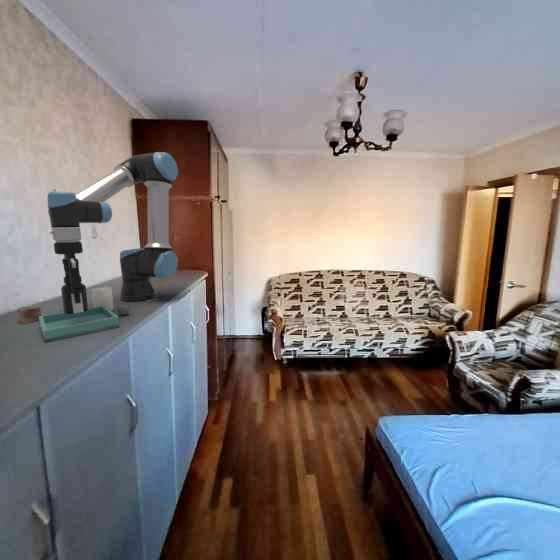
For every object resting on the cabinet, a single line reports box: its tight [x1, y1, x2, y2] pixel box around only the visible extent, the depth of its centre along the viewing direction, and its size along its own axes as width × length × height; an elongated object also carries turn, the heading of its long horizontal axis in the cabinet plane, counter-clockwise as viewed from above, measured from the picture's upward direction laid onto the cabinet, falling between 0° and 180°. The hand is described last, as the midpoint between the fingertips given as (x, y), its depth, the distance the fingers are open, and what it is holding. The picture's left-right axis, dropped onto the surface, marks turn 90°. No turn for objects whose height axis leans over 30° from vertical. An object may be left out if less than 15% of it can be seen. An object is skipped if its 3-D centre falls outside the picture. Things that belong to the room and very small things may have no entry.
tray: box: [38, 306, 120, 343], centre depth 103 cm, size 20×20×4 cm
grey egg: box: [117, 304, 130, 316], centre depth 115 cm, size 4×4×4 cm
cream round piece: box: [91, 286, 115, 312], centre depth 122 cm, size 7×7×9 cm
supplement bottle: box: [60, 275, 89, 314], centre depth 101 cm, size 7×7×12 cm
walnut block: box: [17, 305, 42, 325], centre depth 110 cm, size 5×5×5 cm
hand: (76, 310), depth 102 cm, fingers closed on supplement bottle, 7 cm apart
